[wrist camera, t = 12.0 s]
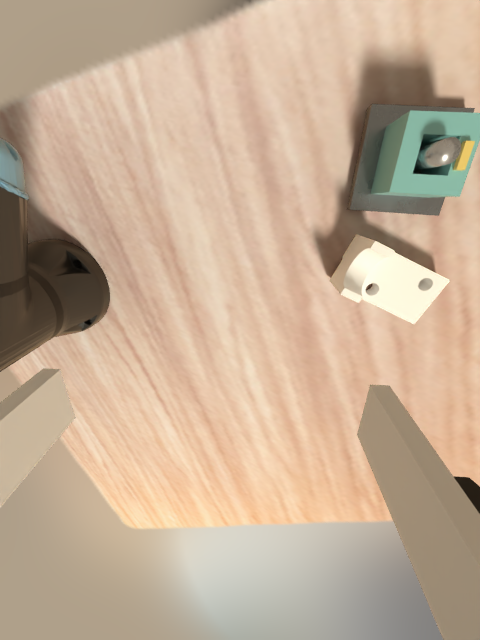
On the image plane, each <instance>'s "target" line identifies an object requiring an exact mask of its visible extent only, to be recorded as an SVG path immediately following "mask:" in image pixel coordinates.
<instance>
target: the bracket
mask: <svg viewBox="0 0 480 640" xmlns="http://www.w3.org/2000/svg"><path fill="white" fill-rule="evenodd" d="M342 258H343V259H342V261H341V263H340V264H339V266H338V267H337V269H336V271H335V272H334V274H333V275H332V277H331V279H330V280H329V281H330V282H331V283H332V284H333V286H334V287H335V288H336V289H337V291H338V292H339V293H340V294H341V295H343V296H345V297H347V298H349V299H351V300H353V301H355V302H357V303H359V302H360V301H361V299H363V300H365V301H367V302H369V303H371V304H373V305H375V306H377V307H379V308H381V309H383V310H385V311H387V312H389V313H391V314H394V315H396V316H398V317H400V318H402V319H404V320H406V321H408V322H410V323H412V324H415V323H416V321H417V320H418V319H419V318H420V316H421V315H422V314H423V313H424V312H425V310H426V309H427V308H428V307H429V306H430V304H431V303H432V302H433V301H434V299H435V298H436V297H437V296H438V295H439V293H440V292H441V291H442V290H443V288H444V287H445V286H446V285H447V284H448V282H449V281H450V280H449V279H447V278H445V277H443V276H441V275H439V274H437V273H435V272H433V271H431V270H429V269H427V268H425V267H423V266H421V265H419V264H417V263H415V262H413V261H411V260H409V259H407V258H405V257H403V256H401V255H399V254H397V253H395V250H393V249H391V248H389V247H387V246H385V245H383V244H381V243H379V242H377V241H375V240H372V239H369V238H366V237H363V236H360V235H358V234H356V235H355V237H354V239H353V240H352V242H351V243H350V245H349V247H348V248H347V250H346V252H345V253H344V255H343V256H342ZM371 283H373V284H372V287H371V288H370V289H368V290H366V287H367V286H368V285H369V284H371Z"/></svg>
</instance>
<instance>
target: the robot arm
mask: <svg viewBox="0 0 480 640" xmlns="http://www.w3.org/2000/svg"><path fill="white" fill-rule="evenodd" d="M27 200H29V196H28V194H27V193H26V188H25V178H24V167H23V161H22V158H21V156H20V154H19V153H18V151H17V150H16V149H15V148H14V147H13V146H12V145H11V144H10V143H9V142H7V141H6V140H4V139H2V138H0V372H1V371H2V370H3V369H5V368H7V367H8V366H10V365H11V364H13V363H15V362H16V361H18V360H19V359H21V358H22V357H24V356H25V355H27V354H28V353H30V352H31V351H33V350H35V349H36V348H38V347H39V346H41V345H42V344H44V343H45V342H47V341H48V340H50V339H52V338H53V337H57V336H62V335H67V334H72V333H77V332H81V331H84V330H86V329H88V328H90V327H91V326H93V325H94V324H96V323H97V322H99V321H100V320H101V319H102V318H103V317H104V315H105V314H106V312H107V309H108V306H109V301H110V292H109V286H108V283H107V280H106V277H105V275H104V273H103V271H102V270H101V268H100V267H99V265H98V264H97V263H96V261H95V260H94V259H93V258H92V257H91V256H90V255H89V254H88V253H86V252H85V251H84V250H82V249H81V248H79V247H78V246H76V245H74V244H72V243H69V242H66V241H63V240H57V239H48V240H41V241H36V242H32V243H29V244H28V233H27ZM74 419H75V415H74V411H73V408H72V405H71V402H70V398H69V395H68V392H67V389H66V385H65V382H64V379H63V376H62V372H61V369H42V370H41V371H40V372H39V373H37V374H36V375H35V376H34V377H32V378H31V379H30V380H28V381H27V382H26V383H25V384H23V385H22V386H21V387H20V388H18V389H17V390H16V391H14V392H13V393H12V394H11V395H9V396H8V397H7V398H5V399H4V400H3V401H2V402H0V507H1V506H2V505H3V504H4V503H5V501H6V500H7V499H8V498H9V497H10V496H11V494H12V493H13V492H14V491H15V490H16V488H17V487H18V486H19V485H20V484H21V482H22V481H23V480H24V479H25V478H26V476H27V475H28V474H29V473H30V472H31V470H32V469H33V468H34V467H35V466H36V465H37V463H38V462H39V461H40V460H41V459H42V457H43V456H44V455H45V454H46V453H47V451H48V450H49V449H50V448H51V446H52V445H53V444H54V443H55V442H56V441H57V439H58V438H59V437H60V436H61V435H62V434H63V432H64V431H65V430H66V429H67V428H68V426H69V425H70V424H71V423H72V422H73V420H74ZM357 435H358V438H359V440H360V442H361V445H362V447H363V450H364V452H365V454H366V457H367V459H368V462H369V464H370V466H371V469H372V471H373V473H374V476H375V478H376V481H377V483H378V485H379V488H380V490H381V492H382V495H383V497H384V500H385V502H386V504H387V507H388V509H389V511H390V514H391V516H392V519H393V521H394V523H395V526H396V528H397V531H398V533H399V535H400V537H401V540H402V542H403V545H404V547H405V550H406V552H407V554H408V557H409V559H410V561H411V564H412V566H413V569H414V571H415V573H416V576H417V578H418V581H419V583H420V585H421V588H422V590H423V592H424V595H425V597H426V599H427V602H428V604H429V607H430V609H431V611H432V614H433V616H434V619H435V621H436V623H437V626H438V628H439V631H440V633H441V635H442V637H443V640H480V487H479V486H478V485H477V484H476V483H475V482H474V481H472V480H471V479H470V478H468V477H453V475H452V474H451V473H450V471H449V470H448V468H447V467H446V465H445V464H444V463H443V461H442V460H441V458H440V457H439V456H438V454H437V453H436V451H435V450H434V448H433V447H432V446H431V444H430V443H429V441H428V440H427V438H426V437H425V436H424V434H423V433H422V431H421V430H420V429H419V427H418V426H417V424H416V423H415V421H414V420H413V419H412V417H411V416H410V414H409V413H408V411H407V410H406V409H405V407H404V406H403V404H402V403H401V402H400V400H399V399H398V397H397V396H396V394H395V393H394V392H393V390H392V389H391V387H390V386H385V385H370V387H369V391H368V395H367V399H366V403H365V407H364V410H363V414H362V418H361V422H360V426H359V430H358V434H357Z"/></svg>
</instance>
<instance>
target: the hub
mask: <svg viewBox="0 0 480 640" xmlns="http://www.w3.org/2000/svg"><path fill="white" fill-rule="evenodd" d="M449 137H455V138H457V139H459V141H460V142H461V152H460V154H459V156H458V157H457V159H456V160H455V161H453V162H452V163H450V164H447V165H443V166H438V167H434V168H429V169H424V170H421V173H420V174H413V171H414V167H415V163H416V160H417V156H418V153H419V149H420V147H424V146H426V145H429V144H432V143H435V142H437V141H440V140H443V139H446V138H449ZM479 140H480V113H466V112H439V111H412V110H410V111H409V112H407V113H406V114H404V115H403V116H401V117H400V118H398V119H397V120H395V121H394V122H392V123H391V124H390V125H388V126H387V127H386V129H385V133H384V138H383V142H382V146H381V151H380V155H379V159H378V164H377V168H376V172H375V177H374V181H373V185H372V189H371V194H378V195H395V196H411V197H427V198H432V197H458V196H460V194H461V191H462V188H463V186H464V183H465V180H466V177H467V174H468V171H469V169H470V166H471V163H472V160H473V157H474V155H475V152H476V149H477V146H478V143H479Z"/></svg>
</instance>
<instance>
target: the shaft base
mask: <svg viewBox="0 0 480 640" xmlns="http://www.w3.org/2000/svg"><path fill="white" fill-rule="evenodd" d="M474 109H475V108H456V107H432V106H407V105H383V104H371V105H370V106H369V107H368V108H367V113H366V118H365V122H364V127H363V132H362V137H361V142H360V147H359V152H358V157H357V162H356V167H355V171H354V176H353V181H352V186H351V191H350V196H349V201H348V206H347V209H348V210H363V211H378V212H393V213H408V214H423V215H438V216H439V213H440V210H441V207H442V205H443V202H444V199H445V197H432V198H427V197H411V196H395V195H378V194H371V189H372V185H373V181H374V177H375V172H376V168H377V164H378V159H379V155H380V151H381V146H382V142H383V138H384V133H385V129H386V127H387V126H388V125H390V124H391V123H392V122H394V121H395V120H397V119H398V118H400V117H401V116H403V115H404V114H406V113H407V112H409V111H410V110H412V111H439V112H466V113H473V112H474ZM460 152H461V142H460V141H459V139H457V138H455V137H449V138H446V139H443V140H440V141H437V142H435V143H432V144H429V145H426V146H424V147H420V149H419V153H418V156H417V160H416V163H415V167H414V171H413V174H420V173H421V170H424V169H429V168H434V167H438V166H443V165H447V164H450V163H452V162H453V161H455V160H456V159H457V157H458V156H459V154H460Z"/></svg>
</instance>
